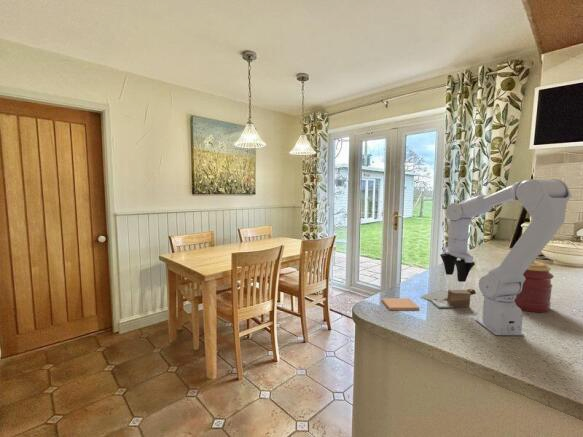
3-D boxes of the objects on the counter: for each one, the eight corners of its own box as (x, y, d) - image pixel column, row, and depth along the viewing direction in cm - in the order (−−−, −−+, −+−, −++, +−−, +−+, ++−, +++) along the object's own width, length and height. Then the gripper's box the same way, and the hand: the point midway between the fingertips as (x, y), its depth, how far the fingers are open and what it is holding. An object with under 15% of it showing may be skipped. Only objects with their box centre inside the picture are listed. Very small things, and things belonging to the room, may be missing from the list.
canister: (531, 315, 93) (536, 261, 91) (493, 300, 105) (497, 252, 103) (559, 310, 96) (565, 259, 94) (520, 296, 108) (524, 250, 107)
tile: (419, 307, 96) (389, 307, 96) (419, 311, 96) (389, 311, 96) (409, 298, 104) (381, 298, 104) (409, 301, 104) (381, 301, 104)
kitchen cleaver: (457, 285, 120) (481, 291, 110) (457, 287, 120) (481, 294, 110) (414, 294, 110) (437, 302, 100) (414, 297, 110) (437, 305, 100)
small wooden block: (471, 308, 97) (472, 294, 97) (438, 308, 97) (439, 293, 97) (462, 302, 102) (463, 289, 102) (431, 302, 102) (432, 288, 102)
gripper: (435, 235, 105) (433, 271, 106) (458, 242, 90) (455, 284, 92) (455, 235, 104) (452, 271, 106) (480, 242, 90) (477, 285, 91)
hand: (455, 277), depth 99 cm, fingers open, 7 cm apart
